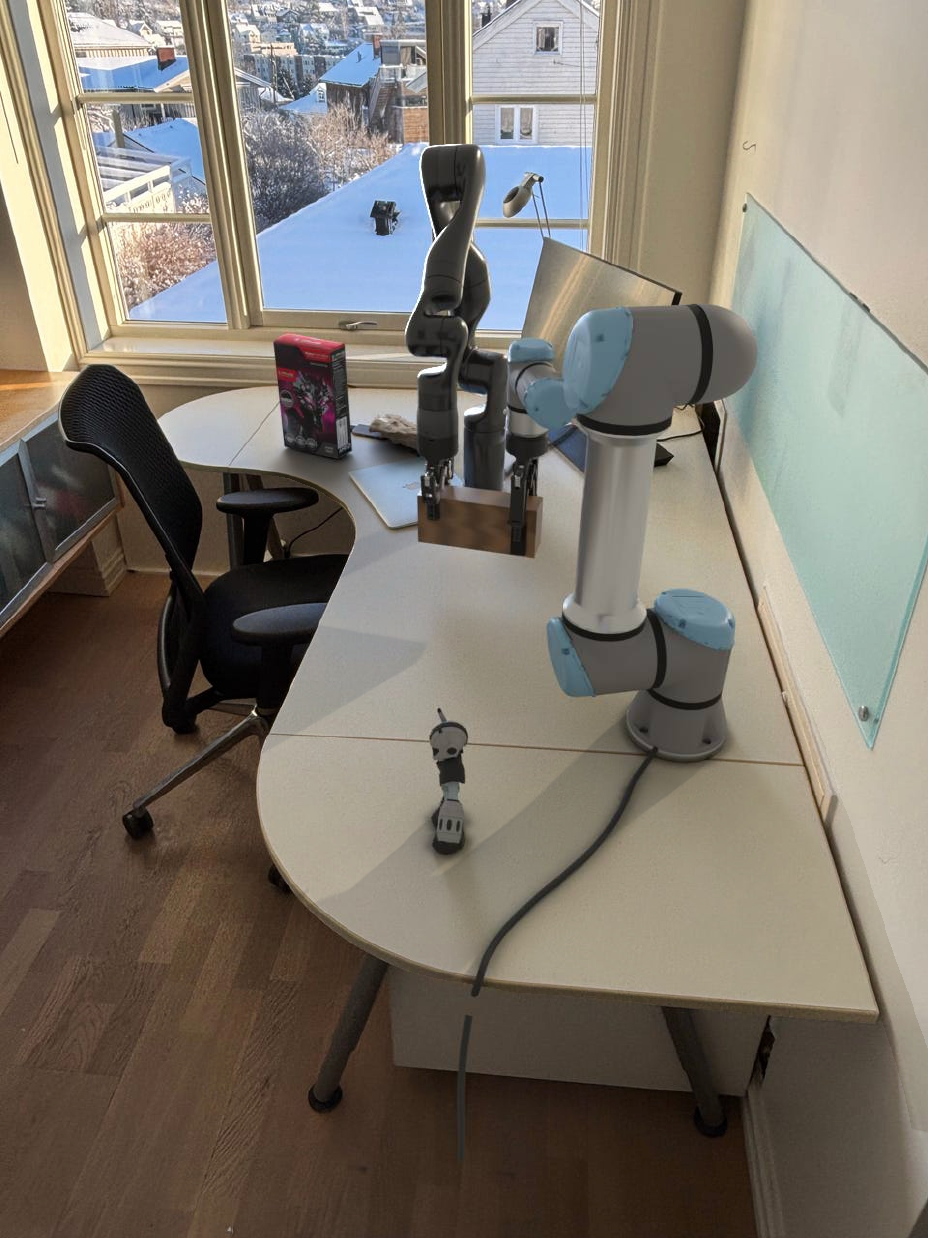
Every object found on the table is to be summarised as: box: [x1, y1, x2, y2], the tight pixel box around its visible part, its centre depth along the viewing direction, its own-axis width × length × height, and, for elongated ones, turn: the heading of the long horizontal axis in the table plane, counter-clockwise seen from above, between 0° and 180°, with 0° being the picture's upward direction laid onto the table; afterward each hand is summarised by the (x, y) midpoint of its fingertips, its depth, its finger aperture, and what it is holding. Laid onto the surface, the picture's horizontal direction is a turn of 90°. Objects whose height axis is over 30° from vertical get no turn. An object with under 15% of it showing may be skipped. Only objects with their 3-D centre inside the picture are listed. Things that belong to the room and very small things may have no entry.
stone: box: [368, 413, 417, 450], centre depth 233 cm, size 21×15×6 cm
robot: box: [428, 707, 469, 855], centre depth 120 cm, size 20×5×20 cm, turn 3°
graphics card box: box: [272, 332, 353, 460], centre depth 223 cm, size 17×7×27 cm, turn 62°
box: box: [416, 483, 544, 559], centre depth 173 cm, size 23×6×10 cm, turn 75°
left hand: (438, 511), depth 175 cm, fingers closed on box, 6 cm apart
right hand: (521, 545), depth 174 cm, fingers closed on box, 6 cm apart
